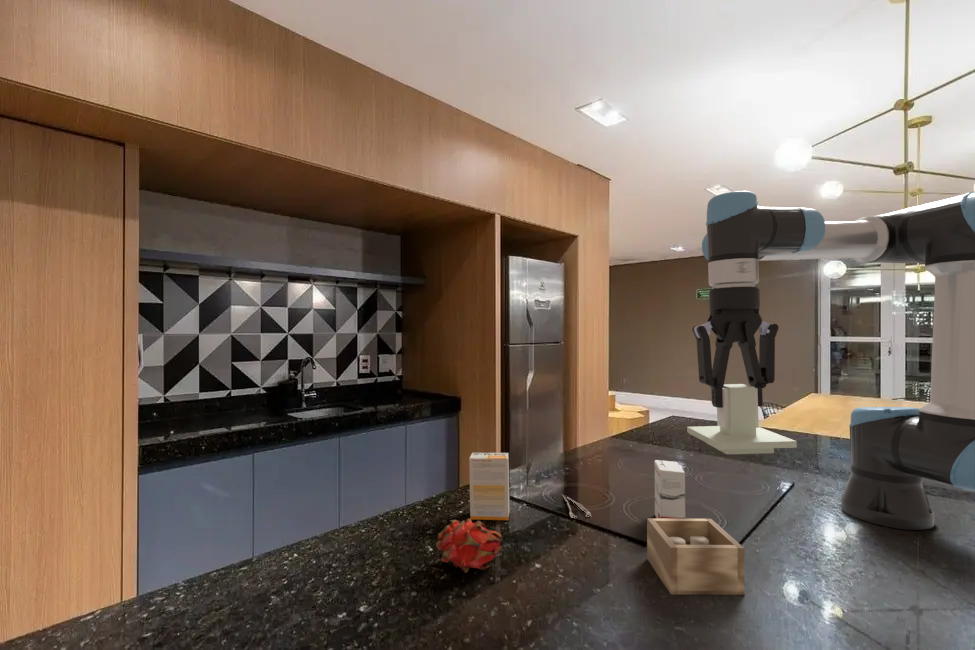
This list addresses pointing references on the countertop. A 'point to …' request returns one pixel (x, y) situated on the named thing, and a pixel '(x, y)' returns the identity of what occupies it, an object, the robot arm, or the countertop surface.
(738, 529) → the countertop surface
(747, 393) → the lid
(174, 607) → the countertop surface
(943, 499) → the countertop surface
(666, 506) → the ink box
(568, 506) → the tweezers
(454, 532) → the dragon fruit
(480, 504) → the supplement box
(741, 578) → the storage box
